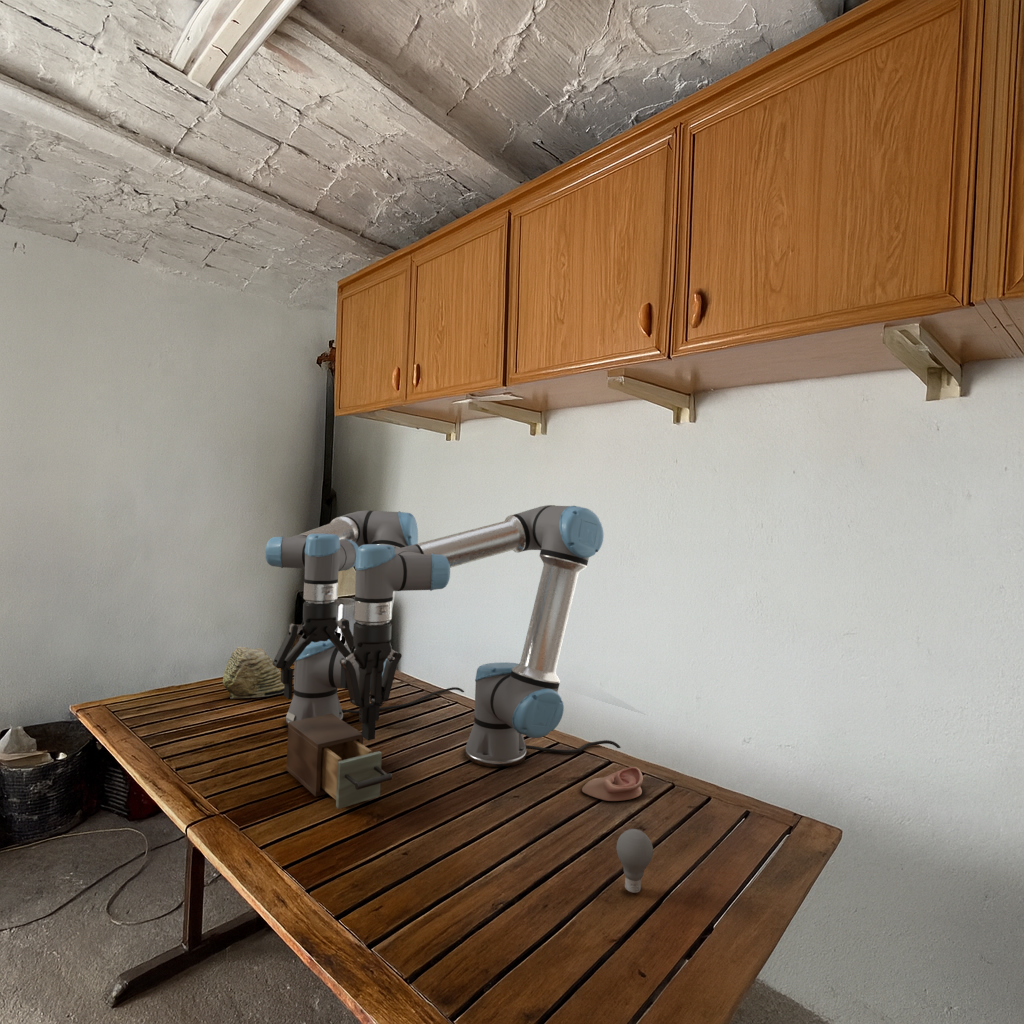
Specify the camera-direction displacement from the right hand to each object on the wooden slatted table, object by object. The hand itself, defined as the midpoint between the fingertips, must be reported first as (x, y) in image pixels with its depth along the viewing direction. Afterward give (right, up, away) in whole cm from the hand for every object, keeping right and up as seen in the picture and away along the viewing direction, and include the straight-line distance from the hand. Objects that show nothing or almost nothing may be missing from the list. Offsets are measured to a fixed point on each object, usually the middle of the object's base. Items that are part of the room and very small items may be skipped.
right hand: (368, 737), depth 128 cm
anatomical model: (+52, -17, +15) cm, 56 cm away
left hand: (-16, +4, +19) cm, 25 cm away
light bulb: (+49, -18, -22) cm, 57 cm away
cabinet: (-14, -14, +15) cm, 25 cm away
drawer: (-5, -14, +5) cm, 16 cm away
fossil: (-52, -12, +70) cm, 88 cm away
